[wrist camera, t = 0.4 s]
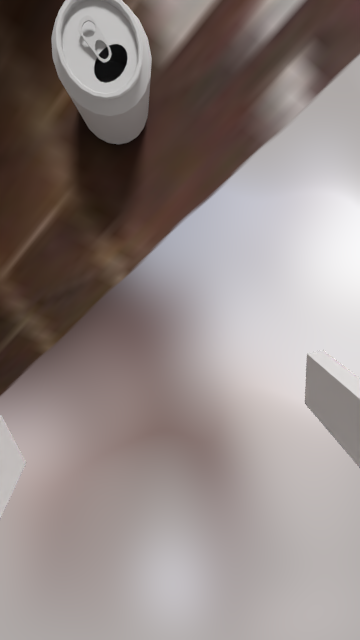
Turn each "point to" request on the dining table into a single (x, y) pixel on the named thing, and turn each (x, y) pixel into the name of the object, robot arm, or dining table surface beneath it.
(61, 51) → the can
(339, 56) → the dining table surface
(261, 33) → the dining table surface
